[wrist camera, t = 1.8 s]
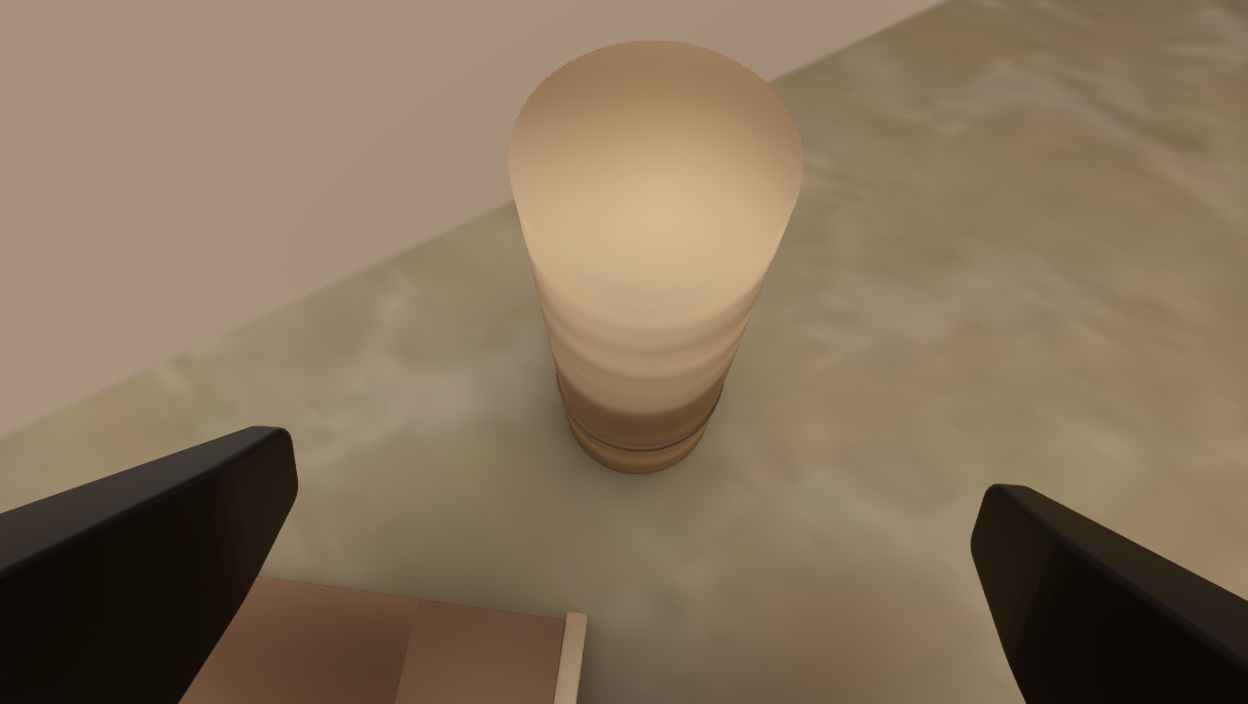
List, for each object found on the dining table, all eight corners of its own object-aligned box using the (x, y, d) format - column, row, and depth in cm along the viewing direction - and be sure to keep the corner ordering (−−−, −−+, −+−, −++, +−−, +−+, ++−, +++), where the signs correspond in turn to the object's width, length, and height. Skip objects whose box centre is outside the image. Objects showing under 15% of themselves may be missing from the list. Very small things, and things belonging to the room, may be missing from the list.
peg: (704, 484, 20) (802, 303, 9) (554, 465, 21) (475, 265, 10) (715, 346, 22) (810, 53, 11) (577, 329, 22) (533, 25, 11)
